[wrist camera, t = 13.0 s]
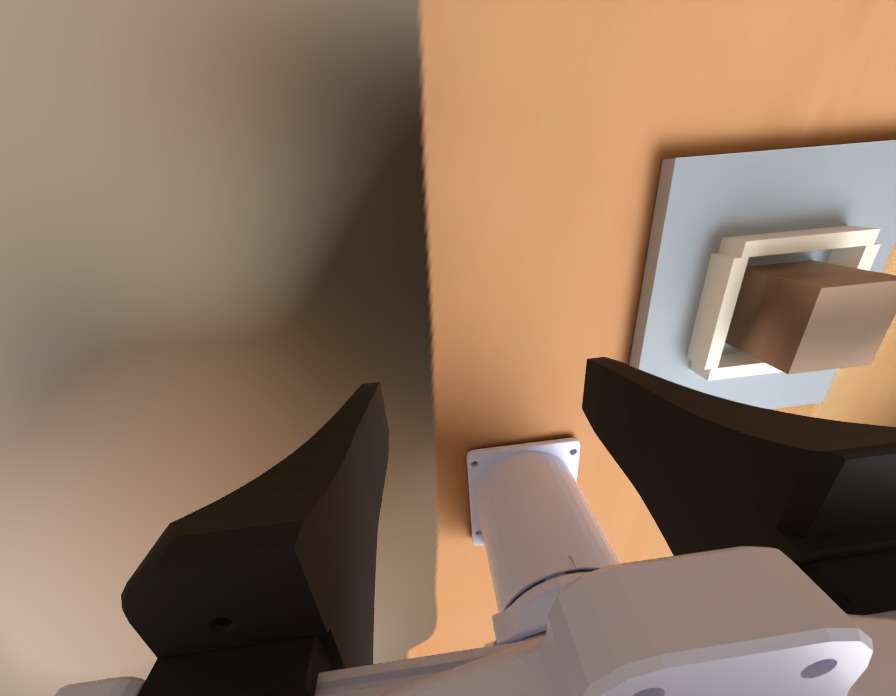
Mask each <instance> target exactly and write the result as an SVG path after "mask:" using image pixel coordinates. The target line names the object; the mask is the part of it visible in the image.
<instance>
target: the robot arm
mask: <svg viewBox="0 0 896 696" xmlns="http://www.w3.org/2000/svg"><path fill="white" fill-rule="evenodd" d="M582 409H583V411H584V413H585V415H586V417H587V419H588V421H589V423H590V425H591V426H592V428H593V430H594V432H595V433H596V435H597V436H598V438H599V439H600V440H601V442H602V443H603V444H604V446H605V447H606V449H607V450H608V451H609V453H610V454H611V455H612V457H613V458H614V460H615V461H616V462H617V464H618V465H619V466H620V468H621V469H622V470H623V472H624V473H625V475H626V476H627V477H628V479H629V480H630V481H631V483H632V484H633V486H634V487H635V489H636V490H637V492H638V493H639V495H640V496H641V498H642V500H643V501H644V503H645V505H646V506H647V508H648V510H649V512H650V513H651V515H652V517H653V518H654V520H655V522H656V524H657V525H658V527H659V529H660V531H661V533H662V535H663V536H664V538H665V540H666V542H667V544H668V546H669V547H670V549H671V551H672V553H673V555H674V556H671V557H664V558H657V559H650V560H643V561H636V562H630V563H623V564H621V562H620V560H619V558H618V557H617V555H616V553H615V551H614V549H613V548H612V546H611V544H610V542H609V540H608V539H607V537H606V535H605V533H604V531H603V530H602V528H601V526H600V524H599V522H598V521H597V519H596V517H595V515H594V513H593V512H592V510H591V508H590V506H589V504H588V503H587V501H586V499H585V497H584V495H583V494H582V492H581V490H580V488H579V486H578V485H577V483H576V482H577V473H578V464H579V455H580V442H579V440H578V439H577V438H574V437H572V438H564V439H556V440H548V441H540V442H532V443H524V444H515V445H507V446H499V447H491V448H483V449H475V450H471V451H469V452H468V453H467V469H468V484H469V499H470V513H471V528H472V540H473V544H475V545H477V546H480V545H485V547H486V552H487V557H488V562H489V567H490V571H491V576H492V581H493V586H494V591H495V596H496V601H497V606H498V611H499V613H498V614H495V615H493V616H492V620H493V626H494V631H495V636H496V641H493V642H489V643H487V644H485V646H484V647H483V648H476V649H470V650H463V651H457V652H450V653H444V654H437V655H431V656H424V657H418V658H412V659H405V660H399V661H392V662H386V663H379V664H373V631H374V628H373V627H374V595H375V571H376V570H375V569H376V549H377V531H378V521H379V513H380V507H381V501H382V494H383V488H384V482H385V475H386V469H387V462H388V448H389V430H388V424H387V418H386V413H385V407H384V402H383V396H382V391H381V385H380V382H378V383H369V384H362V385H361V386H360V387H359V388H358V389H357V390H356V392H354V394H353V395H352V396H351V397H350V398H349V399H348V401H347V402H346V403H345V404H344V405H343V406H342V408H340V410H339V411H338V412H337V413H336V414H335V415H334V416H333V417H332V418H331V419H330V420H329V421H328V422H327V423H326V424H325V425H324V426H323V427H322V428H321V429H320V430H319V431H318V432H317V433H316V434H315V435H314V436H312V437H311V438H310V439H309V440H308V441H307V442H306V443H305V444H303V445H302V446H301V447H299V448H298V449H297V450H296V451H295V452H293V453H292V454H291V455H289V456H288V457H287V458H285V459H284V460H282V461H281V462H280V463H278V464H277V465H275V466H274V467H272V468H271V469H269V470H268V471H266V472H265V473H263V474H262V475H260V476H259V477H257V478H256V479H254V480H252V481H251V482H249V483H247V484H246V485H244V486H243V487H241V488H239V489H237V490H235V491H234V492H232V493H230V494H228V495H226V496H225V497H223V498H221V499H219V500H217V501H215V502H213V503H211V504H209V505H207V506H205V507H203V508H201V509H199V510H197V511H195V512H193V513H191V514H189V515H187V516H185V517H183V518H181V519H179V520H177V521H174V522H172V523H170V524H169V526H168V527H167V528H166V529H165V531H164V532H163V533H162V535H161V536H160V538H159V539H158V541H157V542H156V543H155V545H154V546H153V547H152V549H151V550H150V552H149V553H148V554H147V556H146V557H145V559H144V560H143V561H142V563H141V564H140V565H139V567H138V568H137V570H136V571H135V572H134V574H133V575H132V577H131V578H130V579H129V581H128V582H127V584H126V586H125V588H124V590H123V592H122V594H121V600H122V609H123V612H124V614H125V616H126V617H127V619H128V621H129V623H130V624H131V625H132V627H133V628H134V629H135V630H136V632H137V633H138V634H139V635H140V636H141V638H142V639H143V640H144V642H145V643H146V644H147V645H148V647H149V648H150V649H151V650H152V651H153V653H154V654H155V655H156V657H157V658H158V659H157V661H156V662H155V664H154V666H153V668H152V670H151V672H150V674H149V675H148V678H147V679H146V681H145V680H143V679H141V678H137V677H117V678H110V679H103V680H97V681H90V682H83V683H77V684H71V685H66V686H64V687H62V688H60V689H59V690H58V692H57V693H56V695H55V696H896V427H886V426H877V425H868V424H858V423H849V422H841V421H833V420H827V419H820V418H814V417H807V416H801V415H796V414H790V413H784V412H779V411H775V410H770V409H765V408H760V407H756V406H751V405H747V404H743V403H739V402H735V401H731V400H728V399H724V398H720V397H717V396H713V395H710V394H706V393H703V392H700V391H697V390H694V389H691V388H688V387H685V386H682V385H679V384H676V383H674V382H671V381H668V380H666V379H663V378H660V377H658V376H655V375H652V374H650V373H647V372H645V371H642V370H640V369H637V368H635V367H632V366H630V365H627V364H624V363H622V362H619V361H616V360H613V359H610V358H606V357H600V358H591V359H587V365H586V375H585V384H584V394H583V404H582ZM572 449H574V450H572ZM571 450H572V451H571ZM474 461H476V463H472V462H474Z"/></svg>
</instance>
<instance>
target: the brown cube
mask: <svg viewBox="0 0 896 696" xmlns="http://www.w3.org/2000/svg"><path fill="white" fill-rule="evenodd" d="M895 314H896V276H895V275H890V274H884V273H879V272H874V271H868V270H863V269H858V268H852V267H847V266H841V265H836V264H831V263H825V262H820V261H814V260H809V261H799V262H788V263H778V264H768V265H758V266H748V267H746V270H745V273H744V277H743V280H742V284H741V287H740V291H739V294H738V298H737V301H736V305H735V308H734V312H733V316H732V319H731V323H730V326H729V330H728V333H727V337H726V340H725V343H726V344H728V345H730V346H732V347H734V348H736V349H738V350H740V351H742V352H744V353H746V354H748V355H750V356H752V357H754V358H756V359H758V360H760V361H762V362H764V363H766V364H768V365H770V366H772V367H774V368H776V369H778V370H780V371H782V372H784V373H786V374H796V373H805V372H813V371H822V370H830V369H839V368H847V367H856V366H865V365H871V363H872V361H873V358H874V356H875V354H876V352H877V350H878V348H879V346H880V344H881V342H882V340H883V338H884V336H885V334H886V332H887V330H888V328H889V326H890V324H891V322H892V320H893V318H894V316H895Z"/></svg>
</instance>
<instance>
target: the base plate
mask: <svg viewBox="0 0 896 696" xmlns="http://www.w3.org/2000/svg"><path fill="white" fill-rule="evenodd" d="M895 242H896V140H887V141H875V142H863V143H851V144H839V145H827V146H815V147H802V148H790V149H778V150H766V151H754V152H742V153H730V154H717V155H705V156H693V157H681V158H670V159H662V165H661V172H660V178H659V184H658V190H657V196H656V202H655V209H654V215H653V221H652V227H651V233H650V240H649V246H648V252H647V258H646V264H645V270H644V277H643V283H642V289H641V295H640V301H639V307H638V314H637V320H636V326H635V332H634V338H633V344H632V351H631V357H630V363H629V365H630V366H632V367H635V368H637V369H640V370H642V371H645V372H647V373H650V374H652V375H655V376H658V377H660V378H663V379H666V380H668V381H671V382H674V383H676V384H679V385H682V386H685V387H688V388H691V389H694V390H697V391H700V392H703V393H706V394H710V395H713V396H717V397H720V398H724V399H728V400H731V401H735V402H739V403H743V404H747V405H751V406H756V407H760V408H765V409H775V408H783V407H791V406H799V405H807V404H816V403H823V402H824V400H825V397H826V395H827V393H828V391H829V389H830V386H831V384H832V382H833V380H834V377H835V375H836V373H837V371H838V369H830V370H822V371H813V372H805V373H796V374H786V373H784V372H782V371H780V370H778V369H776V368H774V367H772V366H770V365H768V364H766V363H764V362H762V361H760V360H758V359H756V358H754V357H752V356H750V355H748V354H746V353H744V352H742V351H740V350H738V349H736V348H734V347H732V346H730V345H728V344H726V343H725V340H726V337H727V333H728V330H729V326H730V323H731V319H732V316H733V312H734V308H735V305H736V301H737V298H738V294H739V291H740V287H741V284H742V280H743V277H744V273H745V270H746V267H748V266H758V265H768V264H778V263H788V262H799V261H809V260H814V261H820V262H825V263H831V264H836V265H841V266H847V267H852V268H858V269H863V270H868V271H874V272H879V273H882V271H883V268H884V266H885V264H886V262H887V260H888V257H889V255H890V253H891V251H892V248H893V246H894V244H895Z"/></svg>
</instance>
